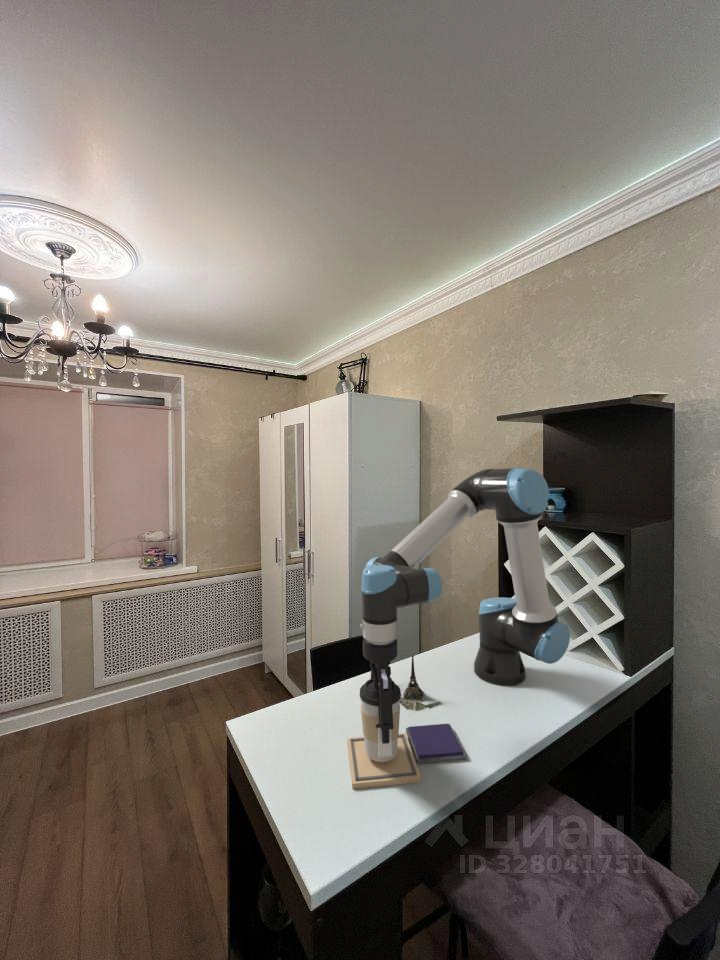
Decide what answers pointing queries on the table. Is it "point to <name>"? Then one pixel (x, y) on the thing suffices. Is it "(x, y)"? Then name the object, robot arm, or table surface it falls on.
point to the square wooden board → (382, 765)
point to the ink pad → (435, 744)
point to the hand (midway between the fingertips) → (381, 740)
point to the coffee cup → (372, 718)
